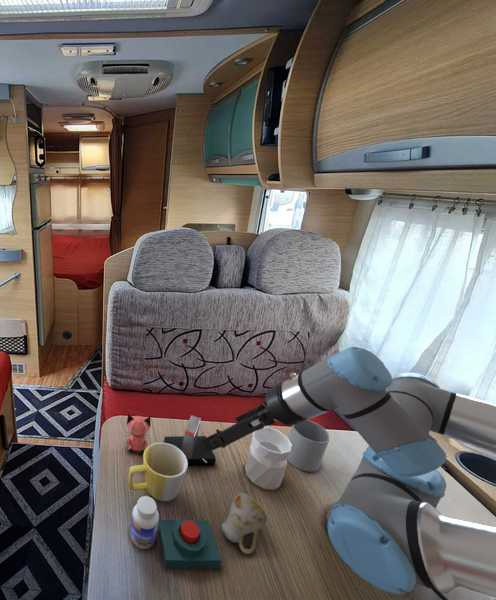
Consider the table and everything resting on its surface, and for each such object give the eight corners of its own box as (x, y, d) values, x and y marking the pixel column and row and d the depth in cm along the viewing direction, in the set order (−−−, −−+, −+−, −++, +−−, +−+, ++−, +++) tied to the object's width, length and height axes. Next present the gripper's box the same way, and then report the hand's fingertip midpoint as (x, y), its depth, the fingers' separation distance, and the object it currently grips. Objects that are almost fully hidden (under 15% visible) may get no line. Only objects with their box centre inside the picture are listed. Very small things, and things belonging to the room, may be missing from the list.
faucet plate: (202, 439, 96) (204, 432, 95) (216, 470, 86) (218, 462, 85) (162, 439, 96) (163, 432, 95) (171, 470, 86) (172, 463, 85)
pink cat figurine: (123, 456, 90) (125, 422, 85) (124, 438, 96) (126, 405, 92) (149, 460, 89) (152, 425, 85) (148, 441, 95) (152, 407, 91)
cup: (326, 472, 86) (337, 443, 83) (294, 471, 87) (304, 442, 83) (307, 447, 94) (316, 419, 91) (278, 446, 94) (287, 418, 91)
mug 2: (209, 531, 72) (221, 486, 72) (236, 529, 77) (247, 486, 77) (239, 557, 65) (252, 507, 66) (266, 553, 70) (278, 506, 71)
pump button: (195, 525, 69) (196, 520, 68) (200, 543, 66) (201, 538, 65) (178, 525, 69) (179, 520, 68) (182, 543, 66) (183, 538, 65)
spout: (187, 435, 94) (191, 414, 91) (197, 439, 93) (200, 417, 90) (180, 455, 88) (184, 432, 85) (190, 459, 86) (194, 436, 84)
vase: (287, 479, 84) (299, 443, 80) (269, 496, 80) (280, 459, 75) (255, 456, 91) (264, 422, 87) (237, 471, 86) (245, 435, 82)
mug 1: (177, 473, 85) (182, 442, 81) (187, 510, 76) (192, 478, 72) (125, 471, 85) (127, 440, 82) (128, 509, 76) (130, 476, 72)
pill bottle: (126, 542, 69) (129, 511, 65) (134, 519, 74) (137, 488, 70) (152, 554, 67) (156, 522, 63) (158, 530, 72) (162, 498, 68)
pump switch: (206, 526, 72) (209, 514, 71) (219, 567, 65) (223, 554, 64) (157, 526, 72) (159, 514, 71) (164, 567, 65) (166, 554, 63)
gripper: (309, 364, 71) (242, 401, 86) (247, 404, 57) (179, 439, 72) (336, 396, 68) (261, 428, 83) (276, 446, 54) (199, 474, 69)
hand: (223, 433), depth 78 cm, fingers open, 13 cm apart
